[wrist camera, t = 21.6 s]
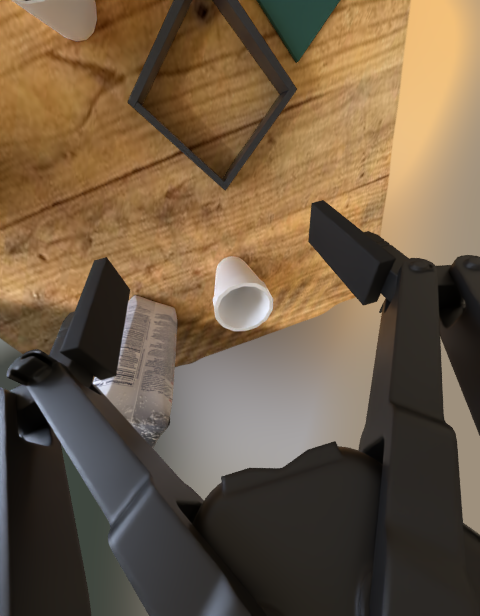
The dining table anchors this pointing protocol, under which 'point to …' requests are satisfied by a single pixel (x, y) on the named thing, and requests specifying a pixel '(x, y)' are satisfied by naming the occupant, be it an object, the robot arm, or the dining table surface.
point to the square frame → (257, 48)
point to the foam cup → (240, 296)
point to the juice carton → (145, 368)
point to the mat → (297, 21)
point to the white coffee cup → (64, 16)
